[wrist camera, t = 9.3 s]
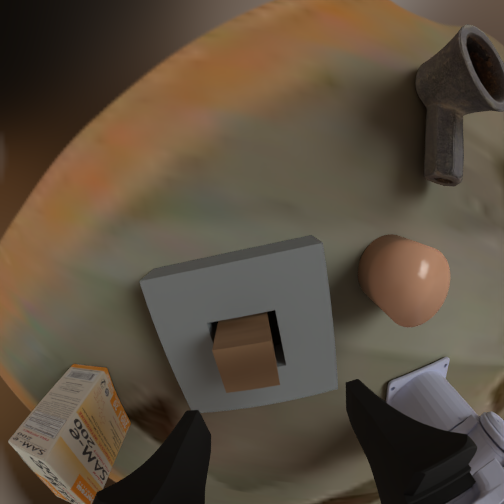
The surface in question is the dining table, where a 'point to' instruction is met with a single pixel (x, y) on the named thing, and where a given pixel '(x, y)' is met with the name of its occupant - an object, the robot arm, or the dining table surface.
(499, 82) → the pipe
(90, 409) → the supplement box
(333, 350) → the block
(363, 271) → the peach egg-shaped blob
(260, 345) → the square peg
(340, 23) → the dining table surface
